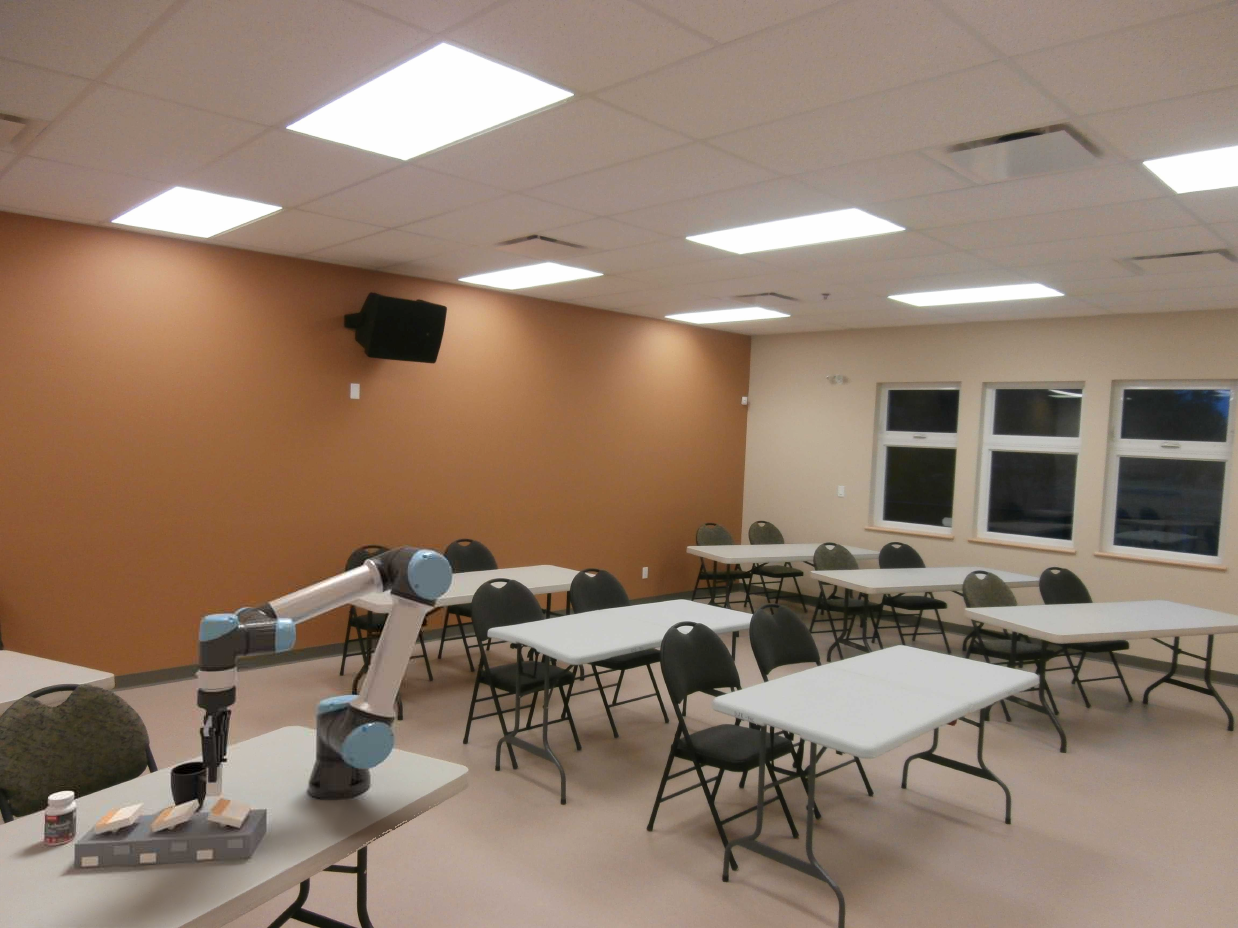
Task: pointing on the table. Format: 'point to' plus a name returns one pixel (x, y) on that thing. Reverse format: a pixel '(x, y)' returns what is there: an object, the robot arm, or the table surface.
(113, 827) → the switch
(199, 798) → the mug
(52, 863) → the table surface
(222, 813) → the switch
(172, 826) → the switch
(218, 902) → the table surface
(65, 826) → the pill bottle
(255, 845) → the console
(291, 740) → the table surface
